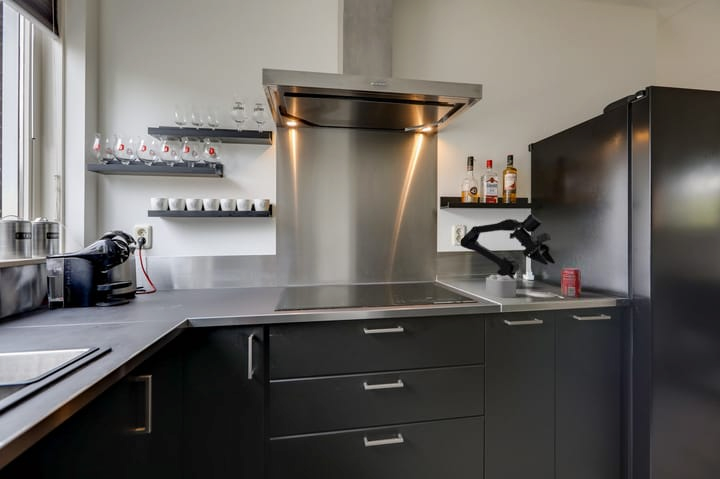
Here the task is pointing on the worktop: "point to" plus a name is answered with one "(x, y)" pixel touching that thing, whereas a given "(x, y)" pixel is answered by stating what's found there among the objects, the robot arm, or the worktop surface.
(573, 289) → the soda can
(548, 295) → the coaster
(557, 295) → the tear line
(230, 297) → the worktop surface
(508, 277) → the grey bumpy block
